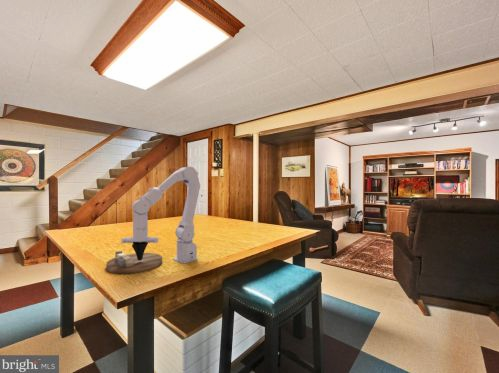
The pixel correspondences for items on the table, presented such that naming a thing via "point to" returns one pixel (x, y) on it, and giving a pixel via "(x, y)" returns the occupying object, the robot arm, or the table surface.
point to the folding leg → (128, 259)
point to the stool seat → (134, 264)
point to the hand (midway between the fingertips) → (140, 259)
